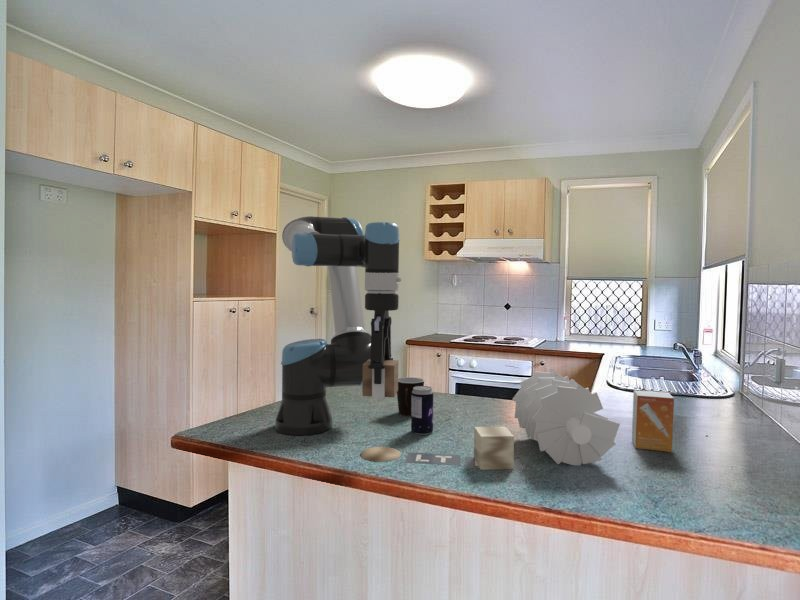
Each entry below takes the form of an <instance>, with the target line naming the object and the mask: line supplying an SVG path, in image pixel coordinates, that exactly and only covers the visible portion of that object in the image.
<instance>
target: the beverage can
mask: <svg viewBox="0 0 800 600" xmlns="http://www.w3.org/2000/svg"><path fill="white" fill-rule="evenodd" d="M410 417H411V419H410V422H411V423H410V425H411V426H410V431H411V432H412V433H413V434H415V435H420V436H425V435H426V436H427V435H430V434H432V432H433V431H434V391H433V388H432V387H431V386H427V385H424V386H416V387H413V391H412V400H411V416H410Z"/></svg>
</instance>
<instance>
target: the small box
mask: <svg viewBox="0 0 800 600" xmlns="http://www.w3.org/2000/svg"><path fill="white" fill-rule="evenodd" d="M632 394H633V396H632V397H633V399H632V421H631V422H632V425H631V428H632V431H631V442H632V443H633V446H634V448H635V449H640V450H642V449H643V450H648V451H649V450H650V451H651V450H652V451H660V452H667V453H672V452H673V441H674V440H673V439H674V438H673V437H674V436H673V435H674V415H675V413H674V412H675V411H674V409H675V398H674V396H672V395H671V393H670V392H664V391H663V392H661V391H651V390H650V391H649V390H635V389H634V390H633V393H632Z"/></svg>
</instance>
